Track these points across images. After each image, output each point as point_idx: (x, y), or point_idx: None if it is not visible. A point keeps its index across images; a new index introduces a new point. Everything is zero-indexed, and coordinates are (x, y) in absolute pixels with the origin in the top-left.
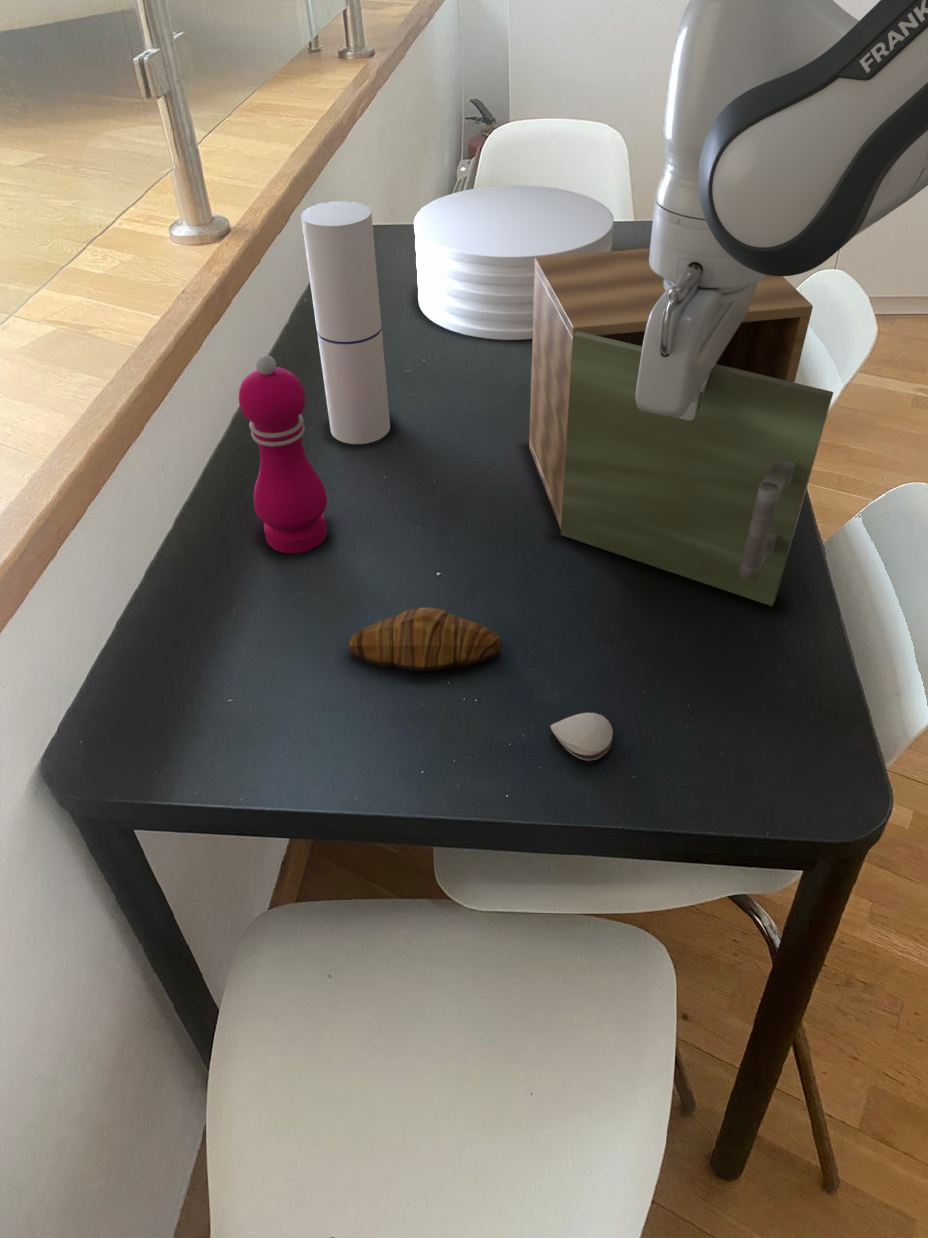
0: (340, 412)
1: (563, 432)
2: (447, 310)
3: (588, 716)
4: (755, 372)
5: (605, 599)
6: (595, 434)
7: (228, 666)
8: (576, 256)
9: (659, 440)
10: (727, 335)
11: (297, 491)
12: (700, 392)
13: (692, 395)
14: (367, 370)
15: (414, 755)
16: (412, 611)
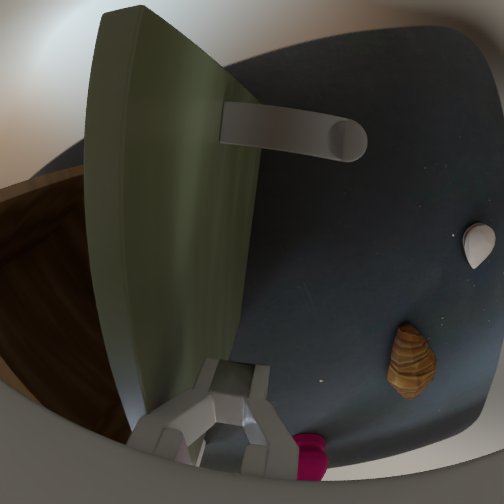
0: (200, 459)
1: None
2: None
3: (476, 248)
4: (4, 235)
5: (314, 265)
6: None
7: (417, 422)
8: None
9: (211, 339)
10: (99, 488)
11: (318, 472)
12: (213, 395)
13: (497, 477)
14: None
15: (479, 329)
16: (405, 390)
